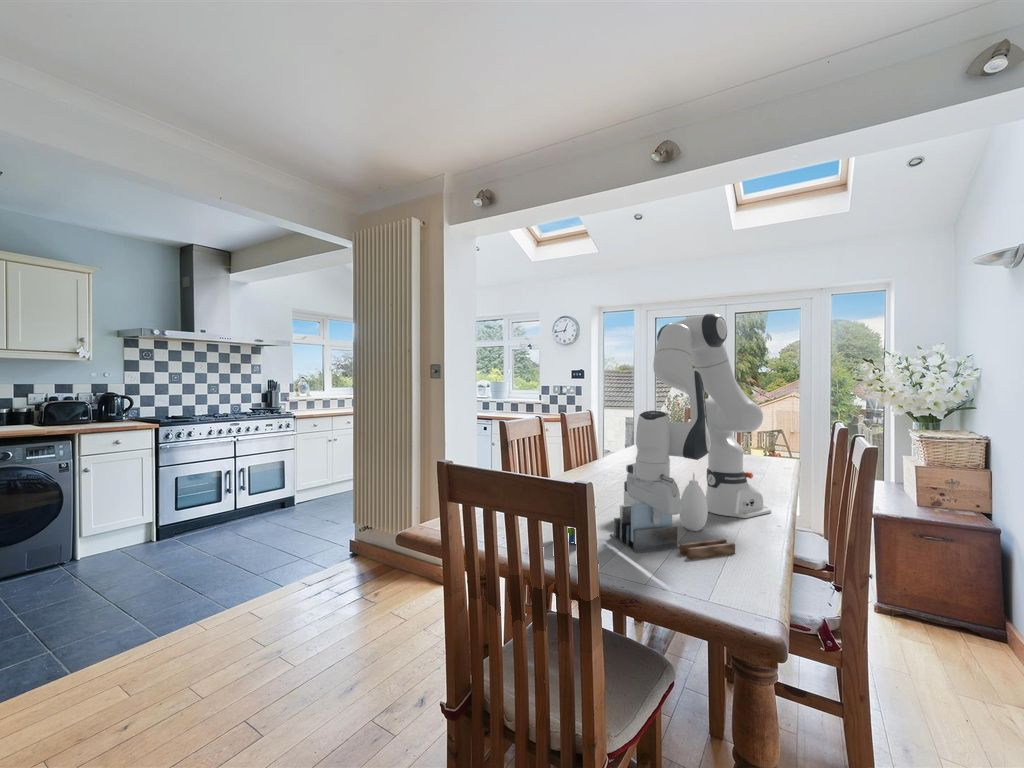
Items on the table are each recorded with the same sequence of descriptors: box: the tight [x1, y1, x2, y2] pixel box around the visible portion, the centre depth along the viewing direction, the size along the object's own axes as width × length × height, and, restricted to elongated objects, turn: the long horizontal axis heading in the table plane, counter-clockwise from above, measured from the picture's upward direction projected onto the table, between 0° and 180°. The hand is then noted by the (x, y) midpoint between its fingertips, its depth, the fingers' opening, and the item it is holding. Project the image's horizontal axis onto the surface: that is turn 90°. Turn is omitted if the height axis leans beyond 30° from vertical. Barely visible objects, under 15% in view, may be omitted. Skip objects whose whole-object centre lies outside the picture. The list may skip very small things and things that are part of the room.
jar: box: [623, 480, 642, 505], centre depth 151 cm, size 9×8×12 cm
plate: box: [631, 503, 673, 542], centre depth 126 cm, size 12×1×10 cm, turn 107°
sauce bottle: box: [678, 472, 709, 532], centre depth 139 cm, size 8×8×18 cm
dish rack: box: [609, 504, 680, 554], centre depth 129 cm, size 14×14×10 cm
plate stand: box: [678, 538, 737, 561], centre depth 121 cm, size 14×5×3 cm, turn 107°
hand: (652, 521), depth 126 cm, fingers closed
